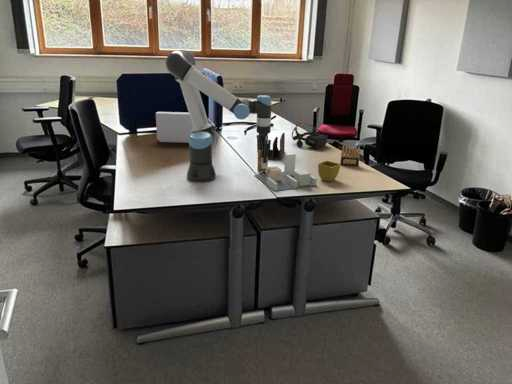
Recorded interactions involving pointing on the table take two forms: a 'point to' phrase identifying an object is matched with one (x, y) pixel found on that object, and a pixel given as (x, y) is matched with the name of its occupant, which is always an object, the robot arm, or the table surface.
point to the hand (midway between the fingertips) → (262, 167)
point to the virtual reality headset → (310, 138)
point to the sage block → (289, 169)
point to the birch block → (269, 169)
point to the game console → (173, 126)
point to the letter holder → (276, 153)
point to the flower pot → (328, 170)
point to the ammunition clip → (350, 157)
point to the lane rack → (284, 182)
